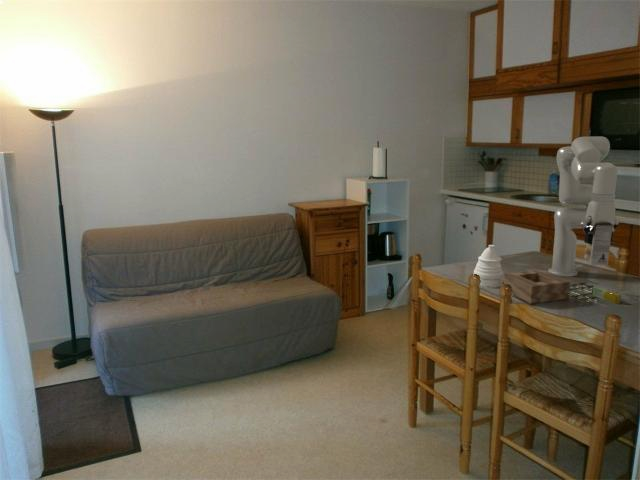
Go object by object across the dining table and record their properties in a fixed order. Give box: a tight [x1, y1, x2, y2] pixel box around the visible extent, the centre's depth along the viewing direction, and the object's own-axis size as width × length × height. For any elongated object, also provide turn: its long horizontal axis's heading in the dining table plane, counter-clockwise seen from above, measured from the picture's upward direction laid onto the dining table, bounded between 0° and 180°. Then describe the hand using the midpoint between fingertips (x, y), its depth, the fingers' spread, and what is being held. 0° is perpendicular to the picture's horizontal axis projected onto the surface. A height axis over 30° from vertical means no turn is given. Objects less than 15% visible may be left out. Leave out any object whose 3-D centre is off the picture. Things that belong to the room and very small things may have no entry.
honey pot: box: [473, 244, 504, 288], centre depth 232 cm, size 13×13×18 cm
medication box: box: [591, 285, 622, 305], centre depth 210 cm, size 12×3×4 cm, turn 20°
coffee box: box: [584, 223, 613, 266], centre depth 199 cm, size 9×6×16 cm
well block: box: [503, 269, 571, 306], centre depth 214 cm, size 18×18×8 cm
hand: (598, 242), depth 199 cm, fingers closed on coffee box, 8 cm apart
